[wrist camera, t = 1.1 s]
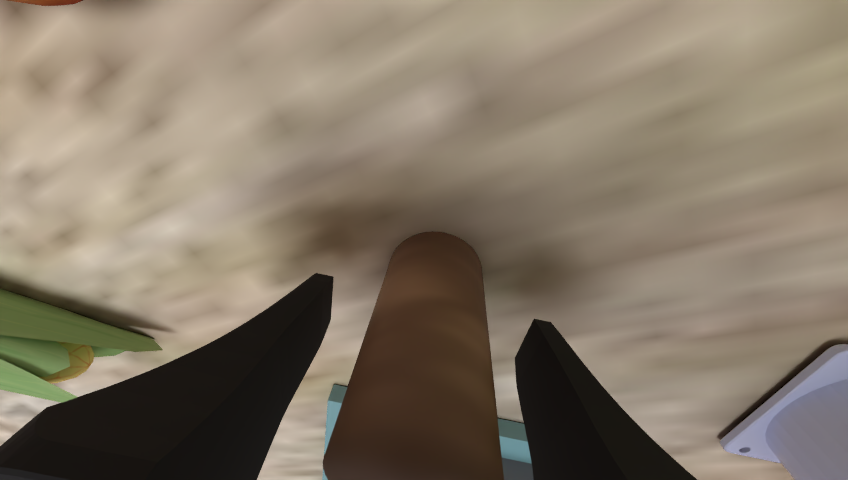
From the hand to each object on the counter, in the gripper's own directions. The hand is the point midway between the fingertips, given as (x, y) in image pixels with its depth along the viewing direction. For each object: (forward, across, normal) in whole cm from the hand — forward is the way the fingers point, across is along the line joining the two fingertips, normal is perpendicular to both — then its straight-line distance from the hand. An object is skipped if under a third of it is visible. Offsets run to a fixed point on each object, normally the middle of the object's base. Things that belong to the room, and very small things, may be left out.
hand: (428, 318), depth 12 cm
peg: (+3, 0, 0) cm, 3 cm away
